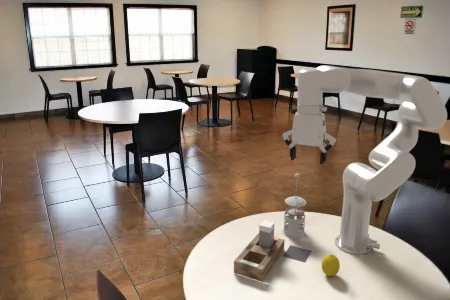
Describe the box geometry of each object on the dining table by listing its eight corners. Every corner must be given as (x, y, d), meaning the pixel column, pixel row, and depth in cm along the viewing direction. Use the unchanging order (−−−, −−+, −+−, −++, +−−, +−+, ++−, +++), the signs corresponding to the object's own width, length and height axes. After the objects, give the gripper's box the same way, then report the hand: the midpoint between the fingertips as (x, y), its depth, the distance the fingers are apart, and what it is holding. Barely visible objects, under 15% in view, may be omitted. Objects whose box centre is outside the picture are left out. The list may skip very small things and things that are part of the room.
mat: (311, 251, 136) (311, 250, 136) (305, 263, 129) (305, 262, 129) (290, 246, 139) (290, 245, 139) (282, 257, 133) (282, 256, 133)
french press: (279, 238, 145) (281, 177, 137) (283, 223, 155) (286, 166, 148) (305, 242, 142) (309, 179, 134) (308, 227, 153) (312, 168, 145)
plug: (273, 252, 135) (274, 222, 132) (269, 258, 132) (270, 227, 128) (262, 249, 137) (263, 220, 133) (258, 255, 134) (259, 225, 130)
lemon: (328, 283, 119) (331, 261, 116) (317, 273, 124) (318, 252, 121) (342, 278, 121) (344, 256, 119) (330, 269, 126) (332, 248, 124)
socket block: (284, 250, 137) (284, 239, 135) (262, 282, 120) (262, 269, 118) (258, 243, 141) (258, 232, 140) (233, 272, 124) (233, 260, 123)
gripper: (340, 109, 117) (337, 161, 123) (287, 105, 125) (286, 154, 131) (334, 114, 111) (331, 168, 116) (278, 109, 119) (278, 161, 125)
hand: (307, 161), depth 124 cm, fingers open, 9 cm apart
